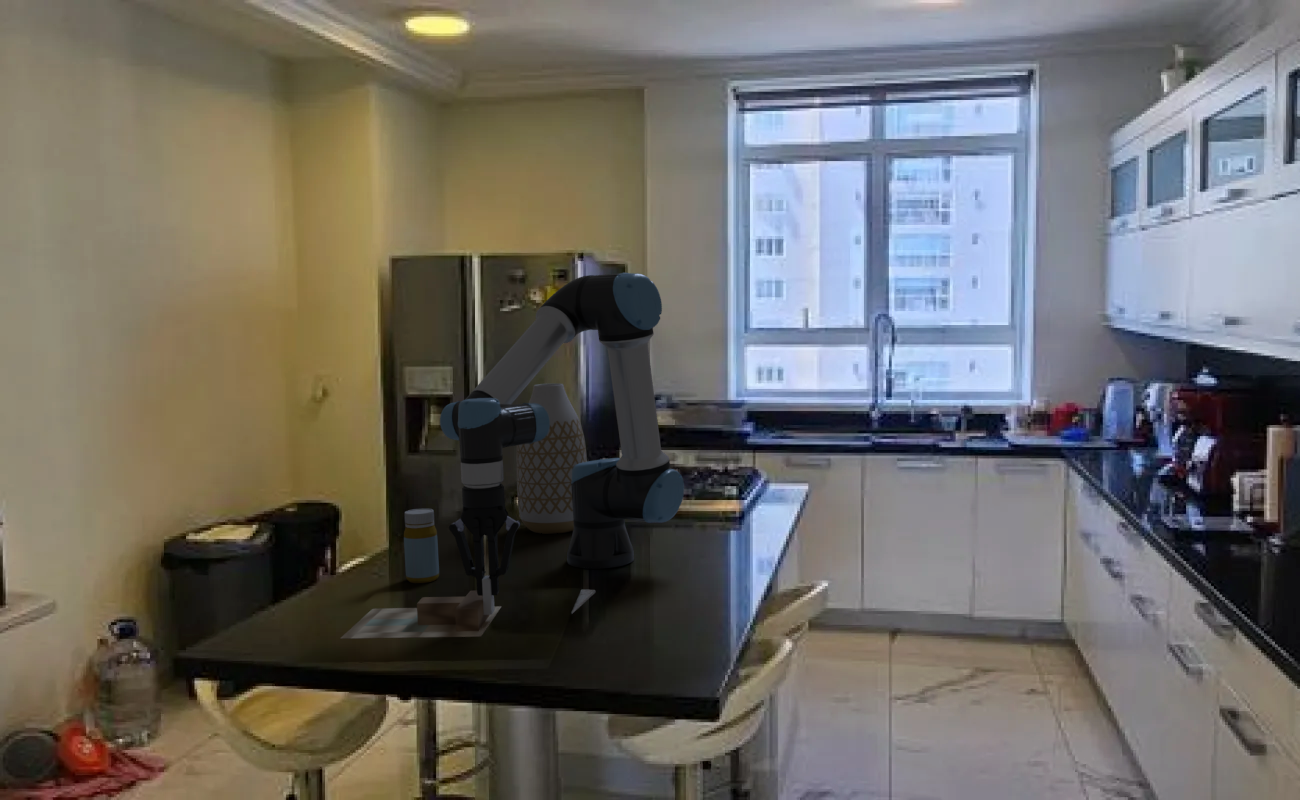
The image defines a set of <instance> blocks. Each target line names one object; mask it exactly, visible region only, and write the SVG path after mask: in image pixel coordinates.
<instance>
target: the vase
mask: <svg viewBox="0 0 1300 800" xmlns="http://www.w3.org/2000/svg"><path fill="white" fill-rule="evenodd" d="M528 403H537V404H540V405H541V406H543V407H544V408H545V410H546V411H547V413H548V415H549V421H550V428H549V431H548V434H547V435H546V437H545V438H544V439H542V440H540V441H537V442H533V443H532V444H522V445H516V492H517V505H518V506H517V507H518V512H519V513H518V514H519V518H520V520H521V523H523V526H525V527H526V528H527V529H528V530H529V531H531V532H533V533H535V534H536V533H537V534H541V533H542V535H544V534H545V535H546V534H547V535H552V534H553V535H554V534H557V533H558V534H565V533H570V532H573V529H574V521H573V504H572V486H571V481H572V469H573V467H574V466H575V465H577V464H579V463H583V462H588V460H587V459H588V457H587V447H586V440H585V439H586V438H585V435H584V431H583V428H582V424H581V421H580V419H579V416H578V414H577V411H576V410H575V409H574V407H573V405H572V403H571V401H570V399H569V396H568V395H567V392H566V389H565V386H564V383H540V384H539V383H538V384H534V385H533V389H532V392H531V396H530V399H529V401H528Z"/></svg>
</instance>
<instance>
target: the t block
mask: <svg viewBox="0 0 1300 800" xmlns="http://www.w3.org/2000/svg"><path fill="white" fill-rule="evenodd" d="M416 608H417V617H418V625H456V631H479V630H480V628H481V627H482V625H483V624H484V623H485V621H486V620H487V618H488V617H489V615H484V609H483V596H478V594H477V590H469V592H468V593H467V594H466V596H430V597H429V596H424V597H423V596H422V597H421V599H419V601H418V602H417V603H416Z"/></svg>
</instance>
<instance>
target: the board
mask: <svg viewBox="0 0 1300 800" xmlns="http://www.w3.org/2000/svg"><path fill="white" fill-rule="evenodd" d="M494 608H495V610H494V612H493V613H492V615H489V617H488V618H487V620H486V621H485V623H484V624H483V625H482V627H481V628H480V630H479V631H456V625H418V617H417V607H397V608H396V607H394V608H393V607H391V608H383V607H382V608H372V609H370V611H369V612H367V613H366V614H365V615H364V616H363V617H362V618H361V619H360V620H359V621H357V622H356V623H355V624H354V625H353V626H352V627H351V628H350V629H348V631H346V632H345V633H344V634H343V635H342V636H341V637H340V640H342V639H343V640H344V639H349V640H350V639H352V640H353V639H401V638H402V639H408V638H409V639H411V638H415V639H416V638H462V637H463V638H464V637H465V638H471V637H472V638H473V637H476V638H477V637H482V636H483V634H484V633H485V632H486V630H487V629H488V628H489V626H490V625H491V623H492V621H493V620H494V619H495V617H496V616H497V614H498V613H499V611H500V609H501V608H502V606H501V605H499V606H494Z"/></svg>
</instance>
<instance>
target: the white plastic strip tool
mask: <svg viewBox="0 0 1300 800" xmlns="http://www.w3.org/2000/svg"><path fill="white" fill-rule="evenodd" d="M579 591H580V592H579V594H578V596H577V599H576V601H575V603H574V605H573V608H572V610H571V612H570V615H573V613H575V612H576V611H577V610H578V609H580V607H582V605H584V604H585V603H586V602H587V601H588V600H589V599H590V598H591V597H592V596H593V595H595V594H596V590H595V589H581V590H579Z"/></svg>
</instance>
